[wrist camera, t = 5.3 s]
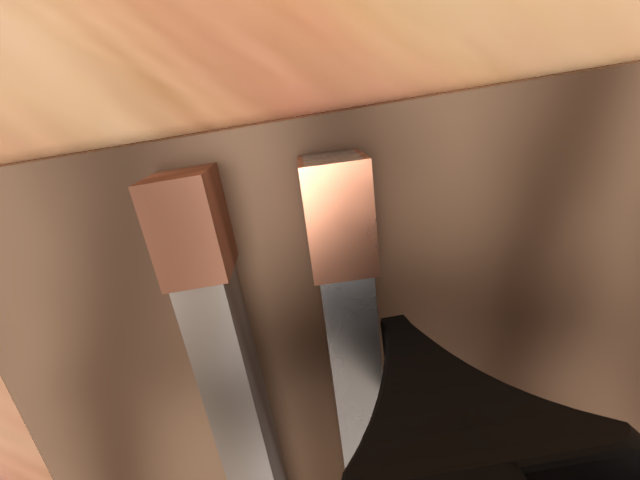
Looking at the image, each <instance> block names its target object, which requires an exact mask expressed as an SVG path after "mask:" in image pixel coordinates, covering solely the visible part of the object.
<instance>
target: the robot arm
mask: <svg viewBox="0 0 640 480" xmlns="http://www.w3.org/2000/svg"><path fill="white" fill-rule="evenodd" d="M380 324H381V333H382V341H383V350H384V366H383V374H382V380H381V384H380V389H379V393H378V397H377V400H376V403H375V407H374V410H373V413H372V416H371V418H370V421H369V424H368V426H367V428H366V430H365V432H364V435H363V437H362V439H361V441H360V444H359V446H358V447H357V449H356V451H355V453H354V455H353V456H352V458H351V460H350V461H349V463H348V465H347V467H346V468H345V470H344V472H343V473H342V479H341V480H640V433H639V432H638V431H637V430H636V429H635V428H633V427H632V426H631V425H630V424H629V423H628V422H624V421H620V420H616V419H612V418H608V417H605V416H601V415H597V414H593V413H589V412H585V411H581V410H578V409H574V408H571V407H568V406H565V405H562V404H559V403H556V402H552V401H549V400H547V399H544V398H541V397H538V396H536V395H533V394H530V393H528V392H525V391H523V390H521V389H518V388H516V387H513V386H511V385H509V384H506V383H504V382H502V381H500V380H498V379H496V378H494V377H492V376H490V375H488V374H486V373H484V372H482V371H480V370H478V369H476V368H475V367H473V366H471V365H469V364H467V363H466V362H464V361H463V360H461V359H459V358H458V357H456V356H455V355H453V354H451V353H450V352H448V351H447V350H445V349H444V348H443V347H441V346H440V345H439V344H437V343H436V342H434V341H433V340H432V339H430V338H429V337H428V336H426V335H425V334H424V333H423V332H421V331H420V330H419V329H418V328H416V327H415V326H414V325H413V324H411V323H410V321H409V320H408V319H407V318H406V317H405V316H404V315H398V316H392V317H386V318H381V322H380Z"/></svg>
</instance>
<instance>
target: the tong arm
mask: <svg viewBox="0 0 640 480" xmlns="http://www.w3.org/2000/svg"><path fill="white" fill-rule="evenodd" d="M297 164H298V172H299V179H300V186H301V194H302V201H303V208H304V215H305V222H306V229H307V236H308V244H309V251H310V258H311V265H312V272H313V279H314V286H318V285H320V291H321V299H322V306H323V313H324V321H325V328H326V336H327V343H328V350H329V358H330V365H331V372H332V380H333V387H334V395H335V402H336V409H337V417H338V424H339V432H340V439H341V446H342V454H343V461H344V469H345V468H346V467H347V465H348V463H349V461H350V460H351V458H352V456H353V455H354V453H355V451H356V449H357V447H358V446H359V444H360V441H361V439H362V437H363V435H364V432H365V430H366V428H367V426H368V424H369V421H370V418H371V416H372V413H373V410H374V407H375V403H376V400H377V397H378V393H379V389H380V384H381V380H382V374H383V371H382V359H381V348H380V336H379V324H378V312H377V300H376V288H375V277H381V274H380V261H379V249H378V236H377V223H376V211H375V198H374V186H373V173H372V160H371V158H370V157H369V156H367V155H366V154H365V153H363V152H362V151H361V150H359V149H358V148H355V149H347V150H340V151H332V152H325V153H317V154H310V155H302V156H297Z"/></svg>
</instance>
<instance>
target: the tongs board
mask: <svg viewBox="0 0 640 480" xmlns="http://www.w3.org/2000/svg"><path fill="white" fill-rule="evenodd" d="M355 148H358V149H359V150H361V151H362V152H363V153H365V154H366V155H367V156H369V157H370V158H371V160H372V173H373V186H374V198H375V211H376V223H377V236H378V249H379V261H380V274H381V277H375V288H376V300H377V312H378V324H379V336H380V348H381V359H382V371H383V366H384V350H383V341H382V333H381V324H380V322H381V318H386V317H392V316H398V315H404V316H405V317H406V318H407V319H408V320H409V321H410V323H411V324H413V325H414V326H415V327H416V328H418V329H419V330H420V331H421V332H423V333H424V334H425V335H426V336H428V337H429V338H430V339H432V340H433V341H434V342H436V343H437V344H439V345H440V346H441V347H443V348H444V349H445V350H447V351H448V352H450V353H451V354H453V355H455V356H456V357H458V358H459V359H461V360H463V361H464V362H466V363H467V364H469V365H471V366H473V367H475V368H476V369H478V370H480V371H482V372H484V373H486V374H488V375H490V376H492V377H494V378H496V379H498V380H500V381H502V382H504V383H506V384H509V385H511V386H513V387H516V388H518V389H521V390H523V391H525V392H528V393H530V394H533V395H536V396H538V397H541V398H544V399H547V400H549V401H552V402H556V403H559V404H562V405H565V406H568V407H571V408H574V409H578V410H581V411H585V412H589V413H593V414H597V415H601V416H605V417H608V418H612V419H616V420H620V421H624V422H628V423H629V424H630V425H631V426H632V427H633V428H635V429H636V430H637V431H638V432H639V433H640V60H638V61H632V62H626V63H620V64H613V65H607V66H601V67H595V68H589V69H583V70H577V71H571V72H565V73H559V74H552V75H546V76H540V77H534V78H528V79H522V80H516V81H510V82H504V83H498V84H491V85H485V86H479V87H473V88H467V89H461V90H455V91H449V92H443V93H437V94H430V95H424V96H418V97H412V98H406V99H400V100H394V101H388V102H382V103H376V104H369V105H363V106H357V107H351V108H345V109H339V110H333V111H327V112H321V113H314V114H308V115H302V116H296V117H290V118H284V119H278V120H272V121H266V122H260V123H253V124H247V125H241V126H235V127H229V128H223V129H217V130H211V131H205V132H199V133H192V134H186V135H180V136H174V137H168V138H162V139H156V140H150V141H144V142H138V143H131V144H125V145H119V146H113V147H107V148H101V149H95V150H89V151H83V152H77V153H70V154H64V155H58V156H52V157H46V158H40V159H34V160H28V161H22V162H16V163H9V164H3V165H0V376H1V378H2V380H3V382H4V384H5V386H6V388H7V390H8V392H9V393H10V395H11V397H12V399H13V401H14V403H15V405H16V407H17V409H18V411H19V413H20V415H21V417H22V419H23V421H24V423H25V425H26V427H27V429H28V431H29V433H30V435H31V437H32V439H33V441H34V443H35V445H36V447H37V449H38V451H39V453H40V455H41V457H42V459H43V461H44V463H45V465H46V467H47V469H48V471H49V473H50V475H51V477H52V479H53V480H341V479H342V473H343V472H344V470H345V469H344V461H343V454H342V446H341V439H340V432H339V424H338V417H337V409H336V402H335V395H334V387H333V380H332V372H331V365H330V358H329V350H328V343H327V336H326V328H325V321H324V313H323V306H322V299H321V291H320V285H318V286H314V279H313V272H312V265H311V258H310V251H309V244H308V236H307V229H306V222H305V215H304V208H303V201H302V194H301V186H300V179H299V172H298V164H297V156H302V155H310V154H317V153H325V152H332V151H340V150H347V149H355Z"/></svg>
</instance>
